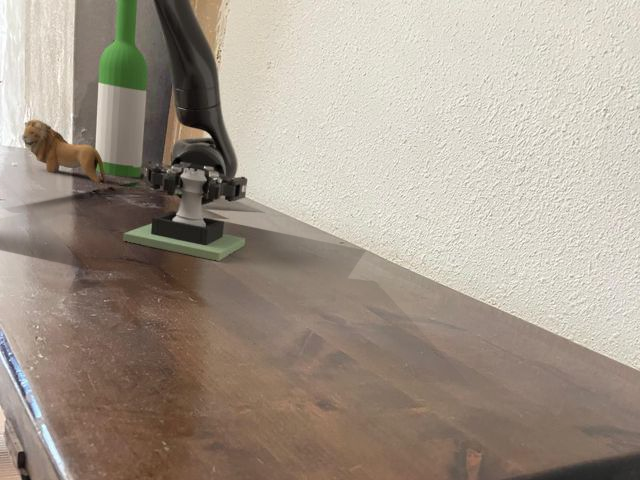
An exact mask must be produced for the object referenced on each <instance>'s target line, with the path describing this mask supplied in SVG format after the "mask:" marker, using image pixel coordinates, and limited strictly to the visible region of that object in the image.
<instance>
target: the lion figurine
mask: <svg viewBox="0 0 640 480" xmlns="http://www.w3.org/2000/svg"><path fill="white" fill-rule="evenodd" d="M23 130H24V131H23V134H22V135H21V136H22V137H21V139H22V141H23V142H24V143H23V144H24V146H25V147H26V148H27V150H28V151H30V152H31V153H32V154H33V155H34V156H35V158H36V160H37V161H39V162H40V163H42V164H45V167H46V171H47V173H52V174H55V172H59V170H60V166H61V167H64V168H67V169H75V168H80V167H81V168H82V171H83V172H84V173H85V175H86V176H87V177H88V178H89V179H90V180H91V181H92V182H94V183H98V184H99V183H101V178H102V182H103V183H104V184H105V183H108V181H107V178H106V174H105V173H104V168H103V163H102V160H101V157H100V155H99V153H98V152H97V150H96V149H95V147H94V146H92V145H90V144H73V143H68V141H67V140H66V139H65V138H64V137H63V135H62V134H61V133H60V132H58V131H56V130H55V129H53V128H52V126H50V125H48V124H47V123H45V122H44V121H42V120H40V119H30V120H27V122H26V121H25V122H24V129H23ZM98 164H99V168H100V172H99V173H100V176H101V178H100V177H99V175H98V174H97V171H96V169H97V165H98ZM107 189H108V190H109V191H110V192H116V189H115V188H114V186H109V187H107ZM101 191H102V189H101V188H99V189H98V188H97V189H93V190H91V192H92V193H93V194H100V193H101Z"/></svg>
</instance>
